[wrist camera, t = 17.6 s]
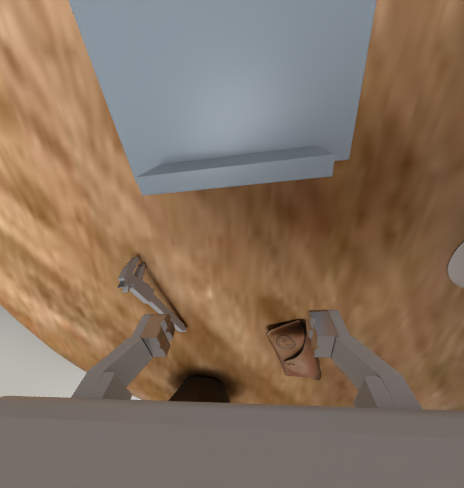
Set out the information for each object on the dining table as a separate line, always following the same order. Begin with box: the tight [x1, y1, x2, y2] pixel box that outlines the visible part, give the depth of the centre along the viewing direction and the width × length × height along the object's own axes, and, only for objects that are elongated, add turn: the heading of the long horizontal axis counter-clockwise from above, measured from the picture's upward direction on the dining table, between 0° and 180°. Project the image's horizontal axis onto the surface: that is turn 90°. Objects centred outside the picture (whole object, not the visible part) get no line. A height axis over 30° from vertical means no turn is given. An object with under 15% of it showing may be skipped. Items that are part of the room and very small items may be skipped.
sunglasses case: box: [266, 320, 321, 380], centre depth 43 cm, size 18×7×7 cm
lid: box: [69, 0, 377, 196], centre depth 11 cm, size 17×15×5 cm
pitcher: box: [169, 376, 230, 403], centre depth 48 cm, size 21×22×25 cm
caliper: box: [118, 257, 187, 332], centre depth 36 cm, size 20×1×6 cm, turn 18°
